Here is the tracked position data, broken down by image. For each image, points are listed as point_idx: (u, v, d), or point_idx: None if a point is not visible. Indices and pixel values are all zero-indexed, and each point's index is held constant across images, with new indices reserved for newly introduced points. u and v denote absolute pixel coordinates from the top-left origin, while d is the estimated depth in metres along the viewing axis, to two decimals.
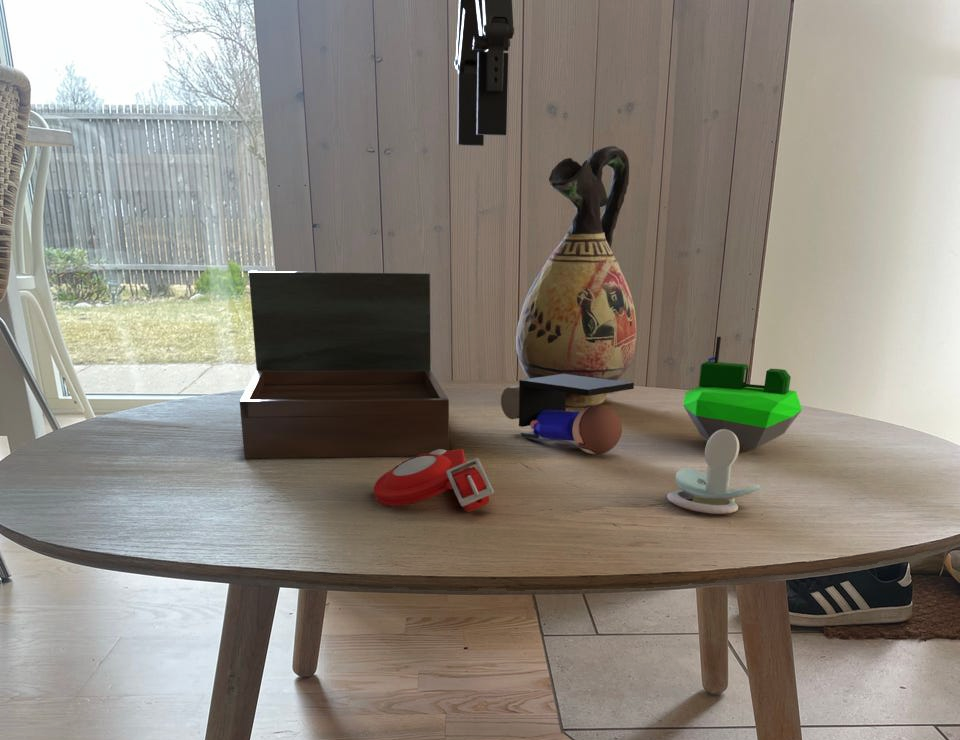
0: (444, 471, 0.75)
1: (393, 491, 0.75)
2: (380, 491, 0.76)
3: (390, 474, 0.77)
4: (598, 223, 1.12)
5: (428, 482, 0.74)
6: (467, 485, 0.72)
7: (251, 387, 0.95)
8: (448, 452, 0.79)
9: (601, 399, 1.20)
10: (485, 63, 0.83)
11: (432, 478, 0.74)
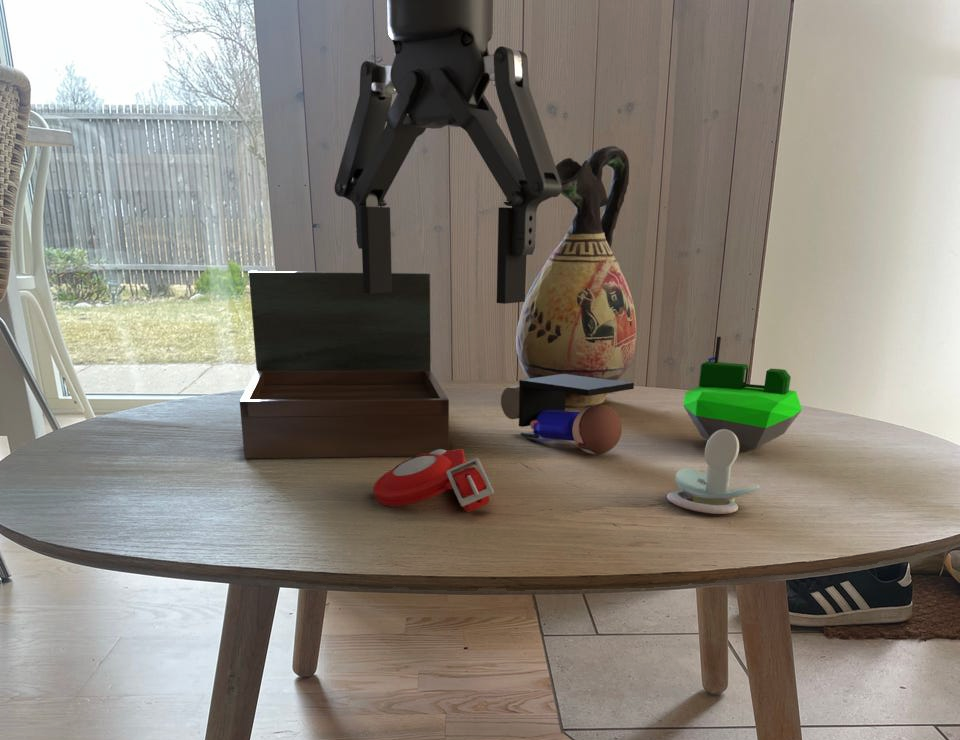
0: (444, 471, 0.75)
1: (393, 491, 0.75)
2: (380, 491, 0.76)
3: (390, 474, 0.77)
4: (598, 223, 1.12)
5: (428, 482, 0.74)
6: (467, 485, 0.72)
7: (251, 387, 0.95)
8: (448, 452, 0.79)
9: (601, 399, 1.20)
10: (512, 221, 0.67)
11: (432, 478, 0.74)
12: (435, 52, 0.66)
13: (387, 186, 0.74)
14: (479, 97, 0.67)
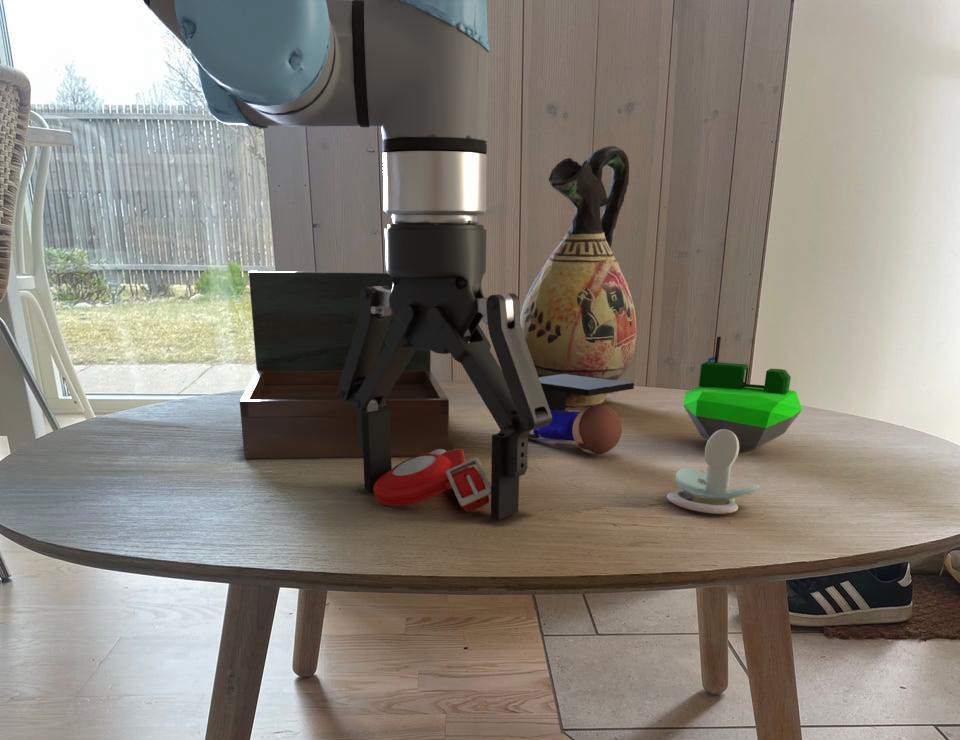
0: (444, 471, 0.75)
1: (393, 491, 0.75)
2: (380, 491, 0.76)
3: (390, 474, 0.77)
4: (598, 223, 1.12)
5: (428, 482, 0.74)
6: (467, 485, 0.72)
7: (251, 387, 0.95)
8: (448, 452, 0.79)
9: (601, 399, 1.20)
10: (505, 447, 0.70)
11: (432, 478, 0.75)
12: (431, 289, 0.69)
13: (387, 392, 0.78)
14: (473, 329, 0.70)
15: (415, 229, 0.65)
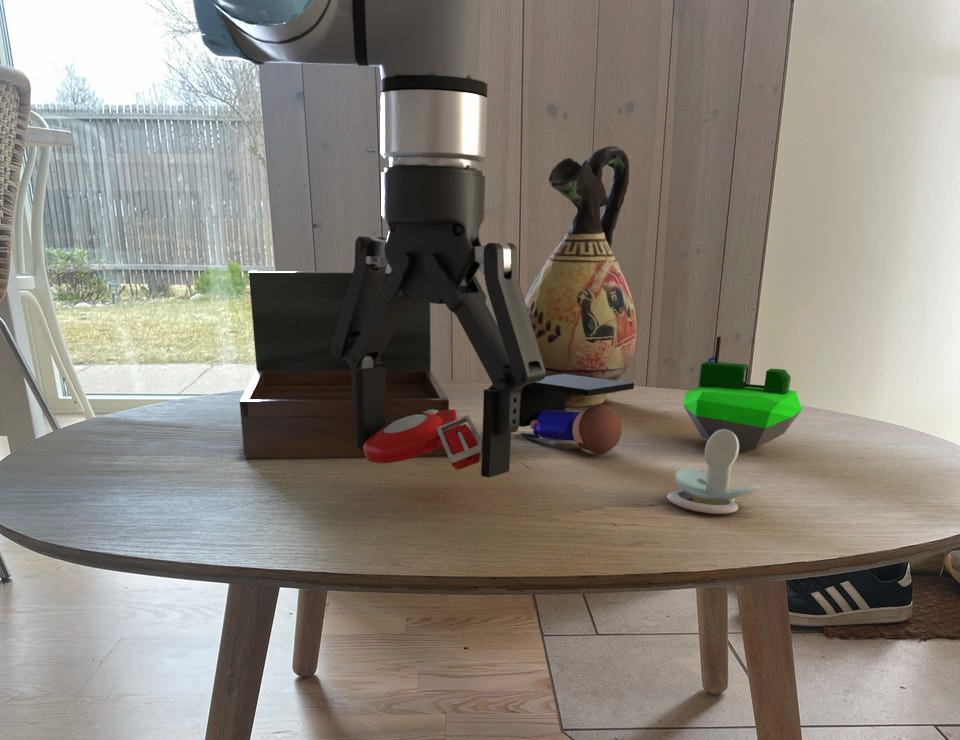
0: (435, 429, 0.74)
1: (383, 448, 0.74)
2: (370, 448, 0.75)
3: (380, 432, 0.75)
4: (598, 223, 1.12)
5: (418, 439, 0.73)
6: (457, 441, 0.70)
7: (251, 387, 0.95)
8: (440, 412, 0.78)
9: (601, 399, 1.20)
10: (497, 402, 0.69)
11: (423, 435, 0.73)
12: (428, 237, 0.67)
13: (382, 348, 0.76)
14: (469, 280, 0.68)
15: (413, 171, 0.64)
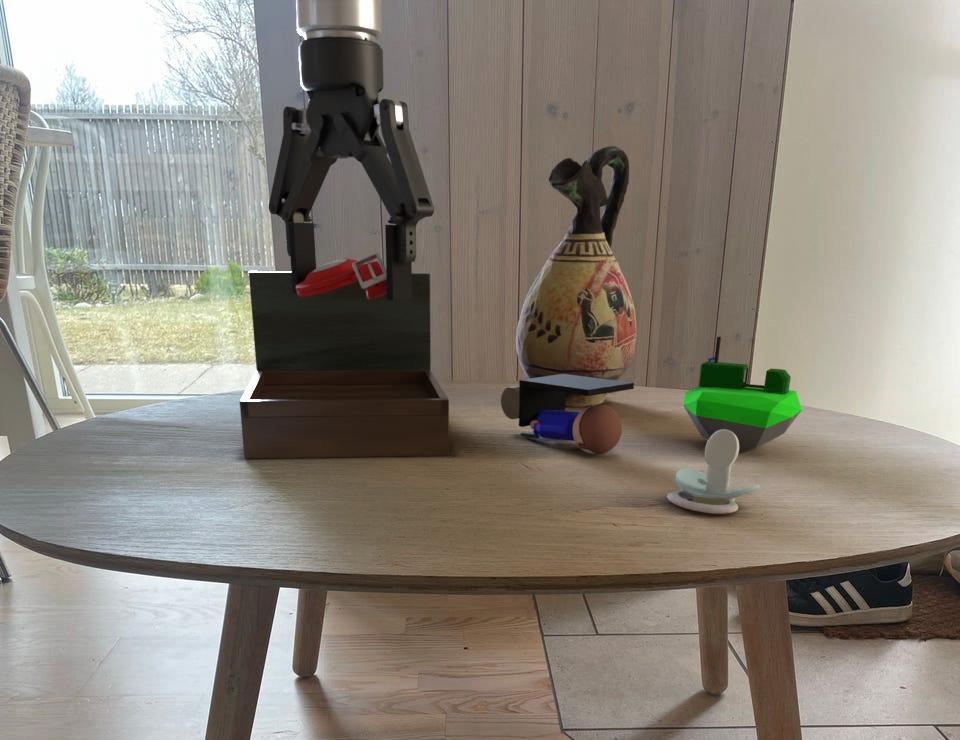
0: (352, 267, 0.90)
1: (310, 284, 0.90)
2: (300, 286, 0.91)
3: (309, 273, 0.92)
4: (598, 223, 1.12)
5: (338, 275, 0.89)
6: (367, 271, 0.87)
7: (251, 387, 0.95)
8: None
9: (601, 399, 1.20)
10: (396, 235, 0.85)
11: (341, 272, 0.89)
12: (338, 100, 0.84)
13: (310, 205, 0.92)
14: (372, 136, 0.84)
15: (320, 41, 0.80)
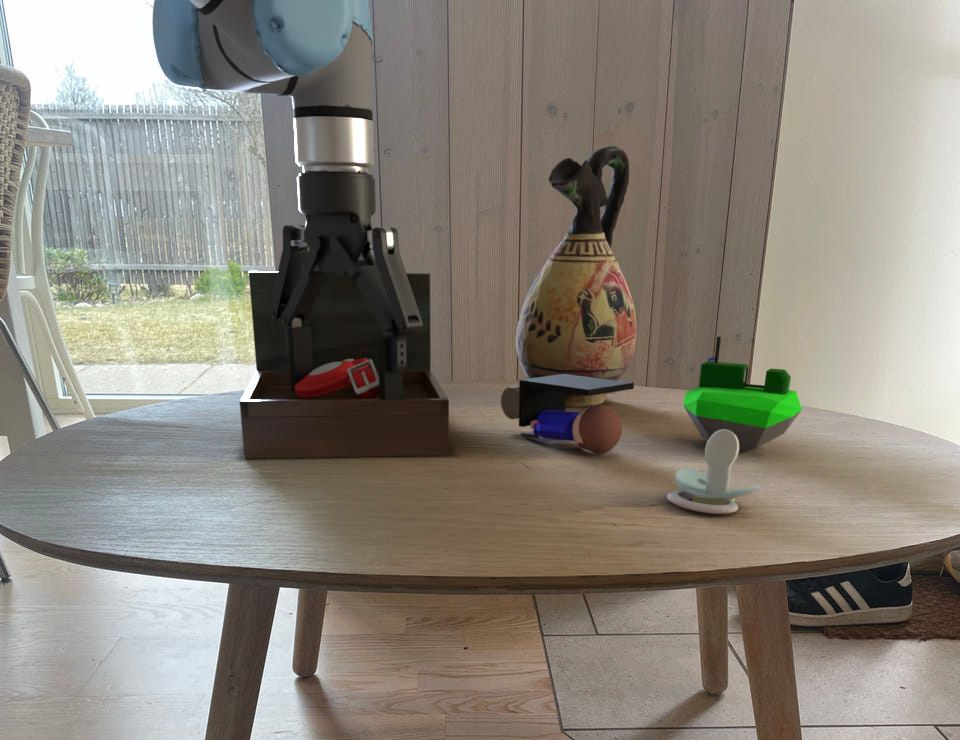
0: (347, 371, 0.97)
1: (308, 386, 0.97)
2: (298, 387, 0.98)
3: (307, 375, 0.99)
4: (598, 223, 1.12)
5: (334, 379, 0.96)
6: (361, 378, 0.94)
7: (251, 387, 0.95)
8: (355, 360, 1.01)
9: (601, 399, 1.20)
10: (388, 347, 0.92)
11: (337, 376, 0.96)
12: (333, 224, 0.91)
13: (308, 311, 0.99)
14: (366, 256, 0.91)
15: (317, 176, 0.87)
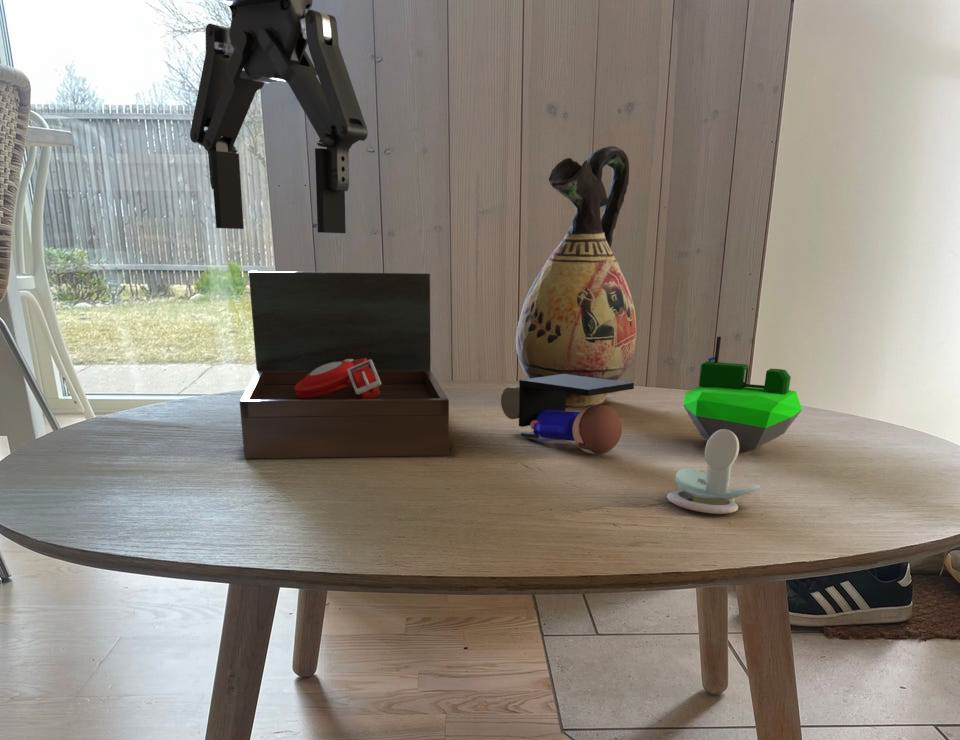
0: (347, 371, 0.97)
1: (307, 386, 0.97)
2: (298, 387, 0.98)
3: (307, 375, 0.99)
4: (598, 223, 1.12)
5: (334, 379, 0.96)
6: (361, 378, 0.93)
7: (251, 387, 0.95)
8: (354, 360, 1.01)
9: (601, 399, 1.20)
10: (327, 160, 0.78)
11: (337, 376, 0.96)
12: (262, 15, 0.77)
13: (235, 134, 0.86)
14: (300, 55, 0.78)
15: None
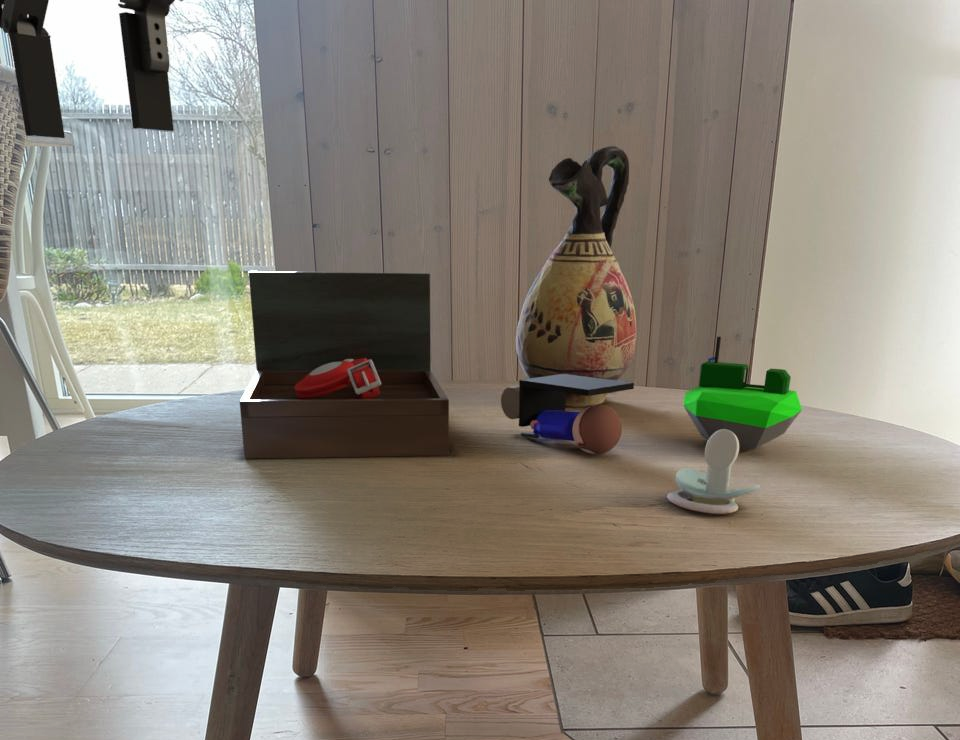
0: (347, 371, 0.97)
1: (307, 386, 0.97)
2: (298, 387, 0.98)
3: (307, 375, 0.99)
4: (598, 223, 1.12)
5: (334, 379, 0.96)
6: (361, 378, 0.93)
7: (251, 387, 0.95)
8: (354, 360, 1.01)
9: (601, 399, 1.20)
10: (137, 30, 0.60)
11: (337, 376, 0.96)
12: None
13: (41, 12, 0.67)
14: None
15: None
